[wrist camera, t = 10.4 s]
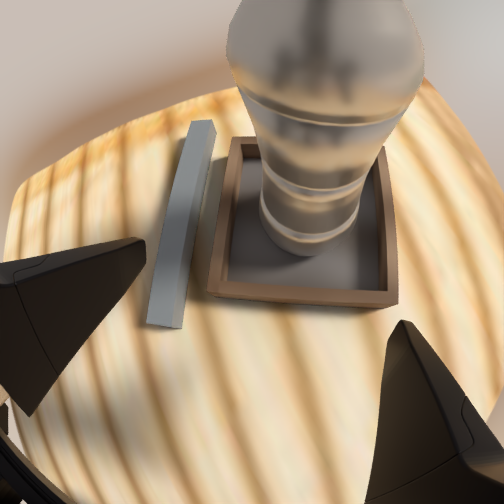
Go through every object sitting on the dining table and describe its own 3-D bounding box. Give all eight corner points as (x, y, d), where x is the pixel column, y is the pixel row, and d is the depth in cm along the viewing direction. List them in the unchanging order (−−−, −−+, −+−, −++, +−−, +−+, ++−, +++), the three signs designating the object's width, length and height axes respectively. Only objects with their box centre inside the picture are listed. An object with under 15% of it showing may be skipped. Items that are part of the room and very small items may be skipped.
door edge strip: (181, 328, 20) (171, 327, 18) (158, 324, 20) (146, 323, 18) (216, 133, 25) (211, 119, 23) (197, 134, 25) (191, 121, 23)
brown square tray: (385, 308, 18) (398, 303, 16) (215, 296, 20) (206, 291, 18) (377, 163, 22) (384, 146, 20) (237, 154, 24) (232, 136, 21)
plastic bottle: (249, 204, 22) (163, -79, 3) (326, 174, 22) (352, -88, 3) (283, 278, 20) (230, -115, 1) (365, 242, 20) (507, -34, 1)
